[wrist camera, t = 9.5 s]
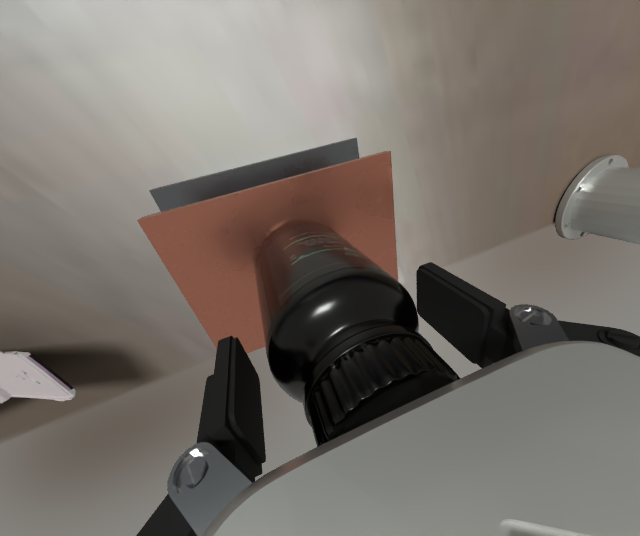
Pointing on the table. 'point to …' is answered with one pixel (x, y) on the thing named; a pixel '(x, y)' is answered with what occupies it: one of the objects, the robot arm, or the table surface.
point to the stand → (266, 226)
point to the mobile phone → (30, 379)
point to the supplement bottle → (340, 331)
